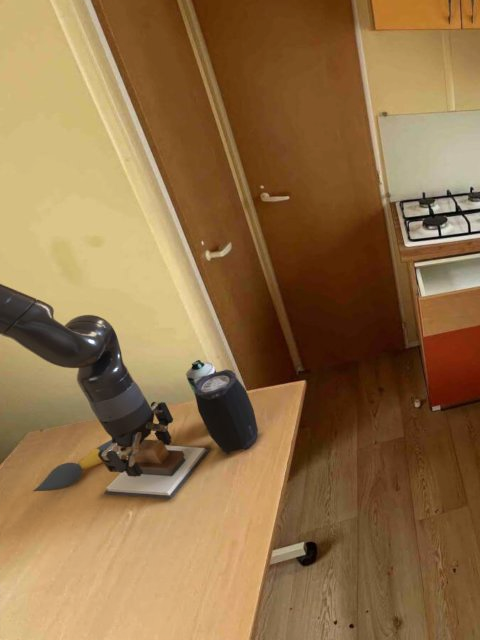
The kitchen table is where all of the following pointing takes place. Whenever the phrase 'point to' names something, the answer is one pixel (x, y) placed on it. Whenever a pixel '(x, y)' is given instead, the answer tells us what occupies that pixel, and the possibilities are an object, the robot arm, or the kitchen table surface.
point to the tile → (158, 478)
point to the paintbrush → (71, 471)
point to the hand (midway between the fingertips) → (152, 458)
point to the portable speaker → (226, 411)
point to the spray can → (199, 372)
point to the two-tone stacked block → (158, 458)
